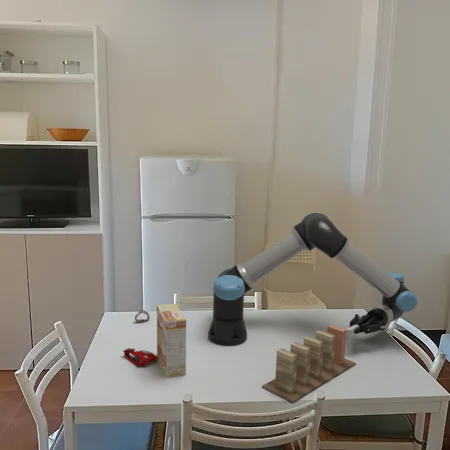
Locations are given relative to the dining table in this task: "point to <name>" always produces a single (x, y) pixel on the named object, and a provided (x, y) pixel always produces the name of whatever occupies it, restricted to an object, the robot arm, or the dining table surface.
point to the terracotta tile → (338, 343)
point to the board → (313, 382)
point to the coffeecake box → (171, 340)
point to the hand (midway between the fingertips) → (347, 333)
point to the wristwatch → (139, 314)
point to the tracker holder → (140, 356)
